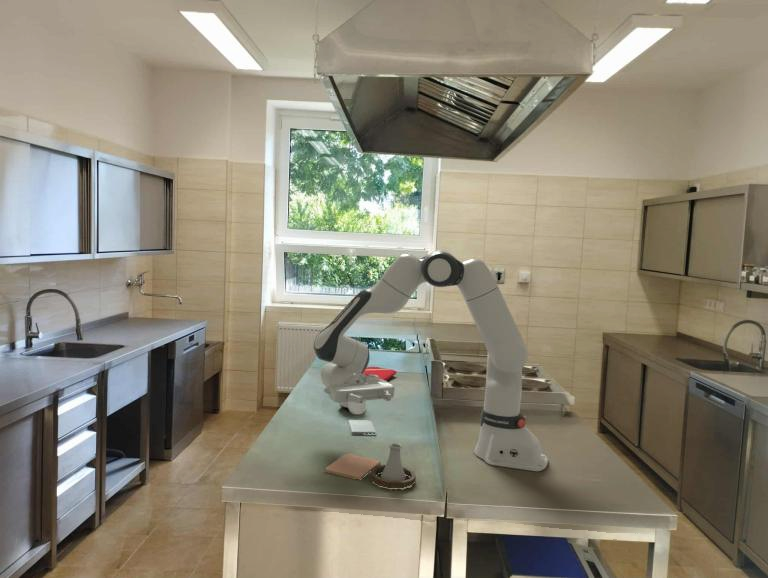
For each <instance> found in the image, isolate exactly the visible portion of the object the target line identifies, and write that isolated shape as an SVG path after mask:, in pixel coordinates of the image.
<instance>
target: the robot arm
mask: <svg viewBox="0 0 768 578" xmlns="http://www.w3.org/2000/svg"><path fill="white" fill-rule="evenodd" d="M423 283H428V284H429V285H431V286H433V287H436V288H446V287H451V286H453V287H454V286H456V287H457V288H458V289H459V291H460V293H461V294H462V296H463V297H462V298H463V300H464V301H465V304H466V306H467V308H468V311H469V312H470V314H471V317H472V319H473V321H474V323H475V326H476V328H477V330H478V334H479V335H480V338H481V340H482V342H483V344H484V346H485V349H486V351H487V359H486V375H485V377H486V378H485V379H486V380H485V389H484V391H485V392H484V400H483V401H484V403H483V408H482V409H481V414H480V431H479V436H478V440H477V443H476V446H475V448H474V451H473V453H474V454H475V456H477V457H478V458H479V459H481V460H483V461H484V462H485V463H487V464H488V465H490V466H497V467H504V468H512V469H517V470H525V471H531V472H541V471H543V470H545V469H546V468H547V466H548V464H549V463H548V460H549V458H548V456H546V455H545V454H543V453H542V447H541V446H542V445H541V443H540V439H538V438H537V436H535V435H534V434H533V433H532V432H531V431H530V430H529V429H528V428H527V427H526V418H527V417H526V415H523V414H522V413H520V411H521V400H522V393H523V392H522V390H523V387H522V386H523V384H522V383H523V379H522V378H523V368H525V365H526V363H528V358H529V352H528V348H527V345H526V343H525V341H524V339H523V337H522V335H521V333H520V330H519V328H518V326H517V324H516V322H515V319H514V318H513V316H512V314H511V312H510V309H509V307H508V305H507V303H506V300H505V298H504V296H503V294H502V292H501V289H500V287H499V285H498V283H497V280H496V279H495V276H494V275H493V273H492V271H490V269H489V268H488V265H487V264H486V263H485V262H484V261H483V260H481V259H479V258H471V259H467V260H465V261H460V260H458V259H457V258H456V257H455V256H454V255H453V254H452V253H451V252H449V251H447V250H442V249H437V250H434V251H431V252H430V253H428V254H427V255H425V256H424V257H421V258H419V257H417V256H415V255H413V254H409V253H403V254H400V255H399V256H398V257H396V259H394V260H393V262H392V263H391V264H390V265H389V267H387V269H386V270H385V272H384V273H383V274H382V276H381V278H379V280H378V281H377V282H376V283H375V284H374V285H372V286H371V287H369V288H367V289H362V290H361V291H359V292H358V293H357V294H356V295H355V296H354V297H353V298H352V299H351V300H350V301H349V302H348V303H347V304H346V305H345V307H344V308H343V309H342V310H341V311H340V312H339V314H338V315H337V316H336V317H335V318H334V319H333V320H332V321H331V322H330V323H329V324H328V325H327V326H326V327H325V328H323V329H322V330H321V331H320V332H319V333H318V334H317V335H316V337H315V339H314V341H313V349H314V353H315V355H316V357H317V358H318V359H319V360H321V361H324V362H328V363H326V364H324V365H323V367H321V370H320V373H319V376H320V380H321V382H322V385H324V386H325V388H324V389H323V392H324V393H325V394H328V397H329V399H330V400H331V401H332V402H334V403H336V404H337V403H338V404H339V403H343V402H356V403H358V404H359V403H363V401H373V400H376V401H377V400H383V401H386V402H389V401H392V399H393V398H394V396H395V392H396V391H395V390H396V388H395V385H393V384H392V383H390V382H388V380H387V381H385V380H382V379H379V376H377V375H369V374H363V373H364V371H365V370H366V368H367V367H369V366H368V365H369V363H370V350H369V347H368V345H367V344H366V343H363V342H362V341H359V340H357V339H355V338H352V337H350V336H348V335H346V333H347V331H348V330H349V329H350V328H351V327H352V326H353V325H354V323H356V321H357V320H358V319H359V318H360V317H362V316H364V315H367V314H374V313H375V314H394V313H397V312H399V311H401V310H402V309H403V308H404V307H405V306H406V305H407V303H408V302H409V301H410V300H411V297H412V295H413V294H414V293H415V291H416V290H417V288H418V287H419V286H420V285H421V284H423Z"/></svg>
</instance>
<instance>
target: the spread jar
mask: <svg viewBox="0 0 768 578" xmlns="http://www.w3.org/2000/svg"><path fill="white" fill-rule="evenodd" d="M366 401H367V400H365V401H363V403H359V404H358V403H356V402H343V403H338V406H339V408H341V409H342V410H343V409H344V411H346V410H347V411H346V412H350V413H351V414H353V415H356V414H357V415H361V414H363V413H364V412H365V410H366V408H367V402H366Z"/></svg>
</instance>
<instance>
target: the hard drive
mask: <svg viewBox="0 0 768 578" xmlns="http://www.w3.org/2000/svg"><path fill="white" fill-rule="evenodd" d="M347 424H349V425H348V428H349V427H350V428H349V431H350V430H351V431H350V433H352V434H364V433H365V434H368V433H369V434H372V433H373V434H375V433H376V434H377V431H376V429H375V427H374V425H373V422H372V420H369V419H368V420H367V419H366V420H365V419H364V420H363V419H348V420H347ZM352 434H351V435H352Z"/></svg>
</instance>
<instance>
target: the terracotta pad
mask: <svg viewBox="0 0 768 578" xmlns="http://www.w3.org/2000/svg"><path fill="white" fill-rule="evenodd" d="M379 463H380V464H381V460H376V459H374V458H369V457H364V456H359V455H356V454H351V453H345V454H343V455H342V456H341V457H339V458H338V459H337V460H335V461H333V462H332V463H331V464H329V465H328V466H326V467H325V468H324V469H323V472H324V473H328V474H331V473H332V475H335V474H337V475H336V476H339V475H341V476H340V477H343V476H346V477H345V478H347V477H350V478H349V479H351V478H355V479H359V480H360V479H362V478H363V477H364V476H365V475H366V474H367V473H369V472H370V471H371V470H372V469H373V468H375V467H376V466H377V465H378V464H379ZM380 464H379V465H380ZM379 465H378V466H379ZM370 473H371V472H370ZM370 473H369V474H370ZM366 476H367V475H366ZM366 476H365V477H366ZM365 477H364V478H365ZM364 478H363V479H364ZM355 479H354V480H355ZM363 479H362V480H363ZM359 480H358V481H359ZM360 481H361V480H360Z"/></svg>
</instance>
